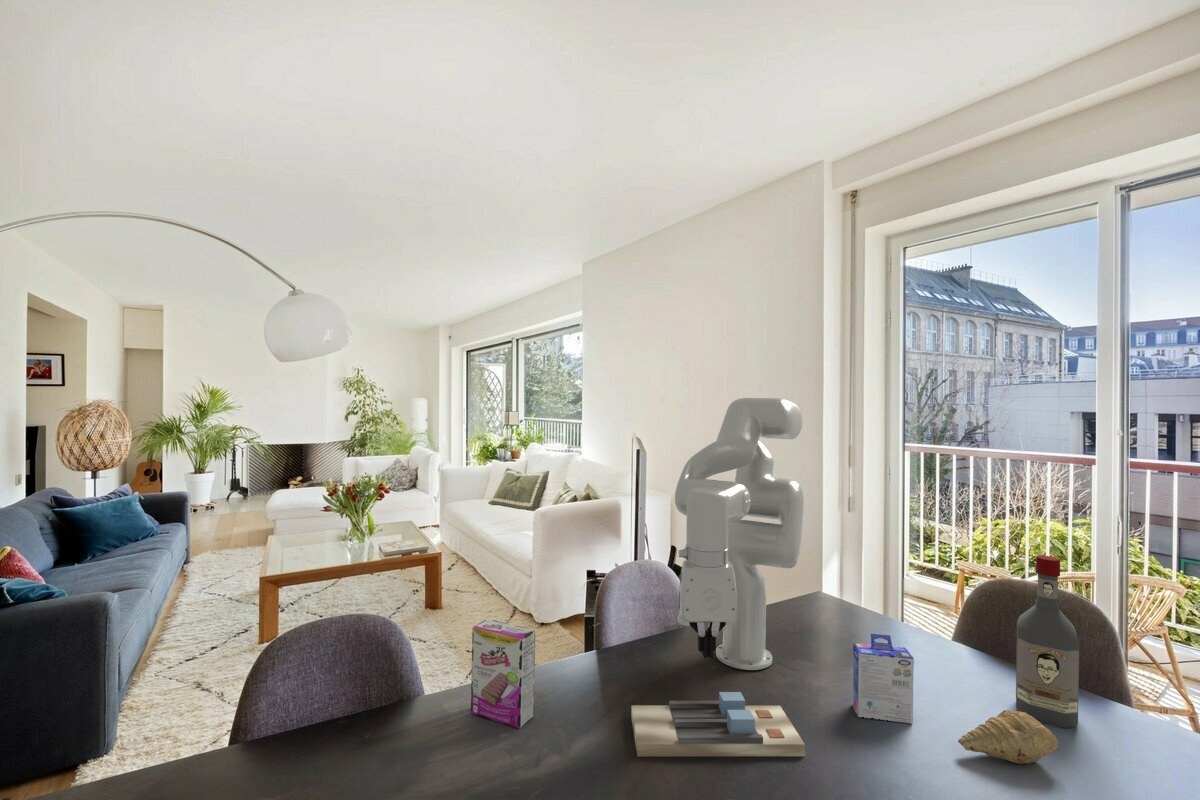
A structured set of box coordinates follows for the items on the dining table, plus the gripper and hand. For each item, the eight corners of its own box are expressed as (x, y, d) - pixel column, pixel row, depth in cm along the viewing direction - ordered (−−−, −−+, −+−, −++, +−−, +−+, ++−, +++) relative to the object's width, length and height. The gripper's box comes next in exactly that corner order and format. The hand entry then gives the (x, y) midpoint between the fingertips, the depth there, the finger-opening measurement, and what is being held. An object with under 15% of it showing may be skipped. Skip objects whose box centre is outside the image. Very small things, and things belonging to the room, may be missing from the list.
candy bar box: (469, 715, 105) (470, 626, 105) (485, 702, 110) (486, 617, 110) (520, 731, 100) (521, 638, 100) (535, 717, 105) (536, 628, 105)
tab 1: (718, 708, 105) (719, 692, 105) (740, 708, 105) (740, 692, 105) (722, 717, 102) (723, 700, 102) (744, 717, 102) (745, 700, 102)
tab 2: (726, 727, 99) (727, 709, 99) (749, 727, 99) (749, 709, 99) (731, 737, 96) (731, 719, 96) (754, 737, 96) (755, 719, 96)
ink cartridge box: (905, 709, 110) (906, 634, 110) (915, 725, 105) (916, 646, 105) (850, 703, 112) (852, 629, 112) (857, 718, 107) (858, 641, 107)
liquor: (1015, 696, 116) (1018, 549, 116) (1073, 711, 110) (1076, 557, 110) (1016, 716, 108) (1019, 558, 108) (1078, 733, 103) (1081, 567, 103)
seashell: (980, 777, 90) (981, 726, 90) (946, 745, 98) (947, 699, 98) (1063, 775, 91) (1064, 725, 91) (1023, 745, 99) (1023, 699, 99)
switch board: (631, 716, 106) (631, 700, 106) (779, 716, 107) (780, 700, 107) (637, 756, 94) (637, 738, 94) (804, 756, 95) (805, 738, 95)
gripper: (669, 563, 99) (669, 665, 100) (754, 562, 100) (753, 664, 101) (663, 550, 107) (663, 645, 108) (742, 549, 107) (741, 644, 108)
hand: (706, 654), depth 104 cm, fingers closed
